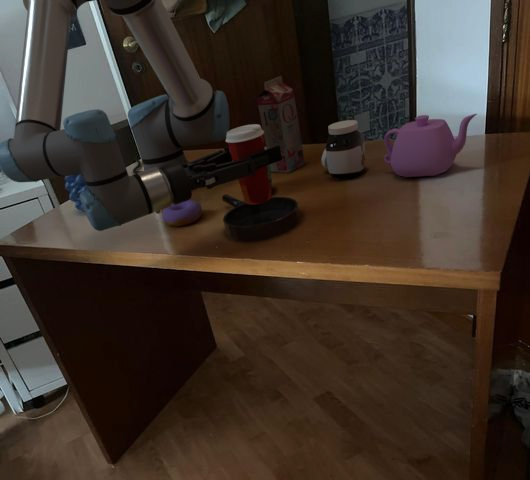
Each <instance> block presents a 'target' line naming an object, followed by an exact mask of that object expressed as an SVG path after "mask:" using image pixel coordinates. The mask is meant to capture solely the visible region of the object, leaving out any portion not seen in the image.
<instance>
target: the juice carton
mask: <svg viewBox="0 0 530 480" xmlns="http://www.w3.org/2000/svg"><path fill="white" fill-rule="evenodd" d="M263 84H264V90H263V91H262V92H261V93H260V94H259V95H258V96H257V97H256V101H257V105H258V111H259V116H260V122H261V128H262V130H263V131H264V134H263V138H264V143H265V147H266V148H267V149H269V148H272V147H274V146H277V145H278V146H280V150H281V156H282V160H281V161H278V162H275V163H272V164H270V171H271V172H274V173H275V172H276V173H291V172H293V171H295V170H297V169H298V168H301V167H302V166H304V165H305V164H306V162H305V161H306V160H305V156H304V155H305V154H304V149H303V148H304V147H303V142H302V137H301V130H300V124H299V119H298V118H299V117H298V110H297V105H296V104H297V103H296V97H295V92H294V89H293V88H292V87H290V85H288V84H286V83H284V82H283V76H282V75H279V76H276V77H275V78H271V79H270V80H267V81H264V82H263Z"/></svg>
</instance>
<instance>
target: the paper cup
mask: <svg viewBox="0 0 530 480" xmlns="http://www.w3.org/2000/svg"><path fill="white" fill-rule="evenodd" d="M224 140H225V142H226V143H227V145H228V146H227V147H229V150H230V153H231V156H232V161H236V160H240V159H245V158H248V157H249V155H252V154H254V153H257V152H260V151H263V150H265V147H266V146H265V138H264V131H263V128H262V125H260V124H258V123H257V124H256V123H254V124H253V123H252V124H246V125H241V126H238V127H235V128H232V129H229V131H228V132H227V135H226V139H224ZM237 181H238V184H239V187H240V190H241V194H242V197H243V200H244V202H245V203H246V204H249V205H254V204H260V203H263V202H266V201H268V200H269V199H270V198H271V197H272V194H271V190H270V182H269V175H268V168H267V166H264V167H261V168H258V169H256V170H255V175H253V176H252V175H250V176H246V177H243V178H240V179H237Z"/></svg>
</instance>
